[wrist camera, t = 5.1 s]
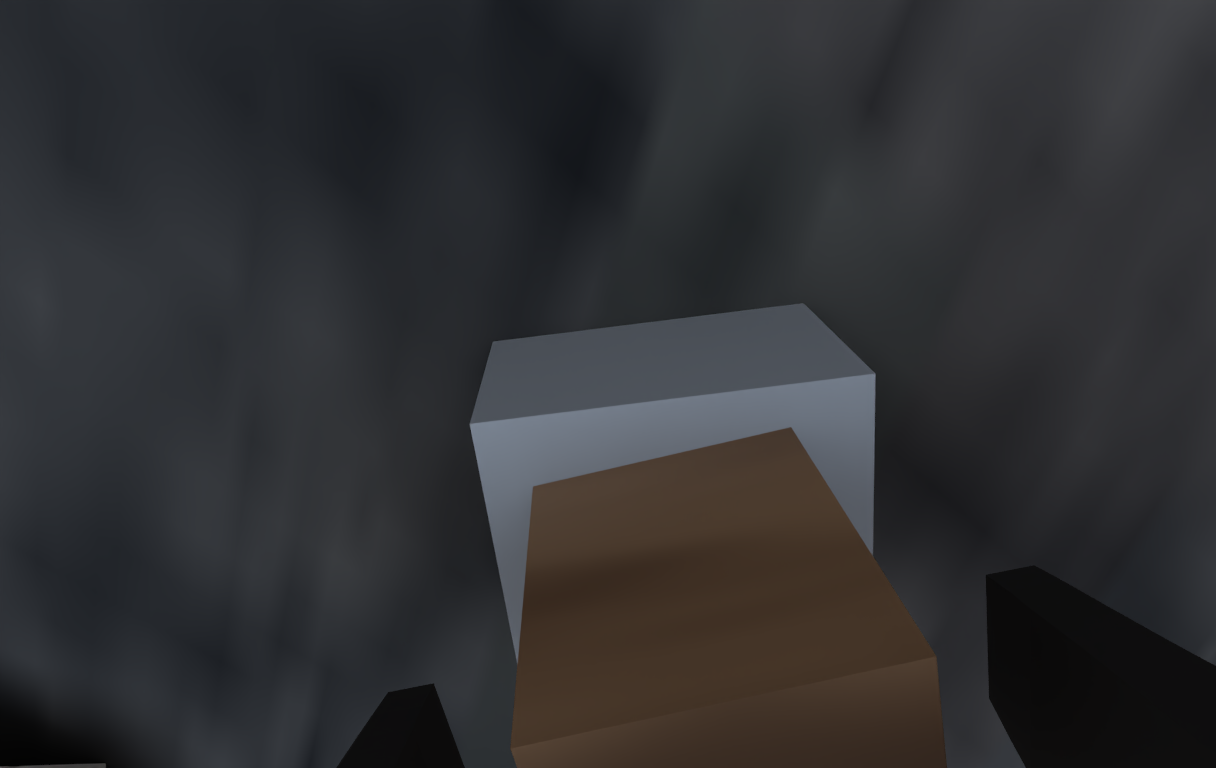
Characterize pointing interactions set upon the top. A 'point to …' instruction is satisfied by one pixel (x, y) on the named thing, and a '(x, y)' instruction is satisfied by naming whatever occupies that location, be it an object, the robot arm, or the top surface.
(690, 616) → the walnut block
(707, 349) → the base block
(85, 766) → the die
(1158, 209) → the top surface
